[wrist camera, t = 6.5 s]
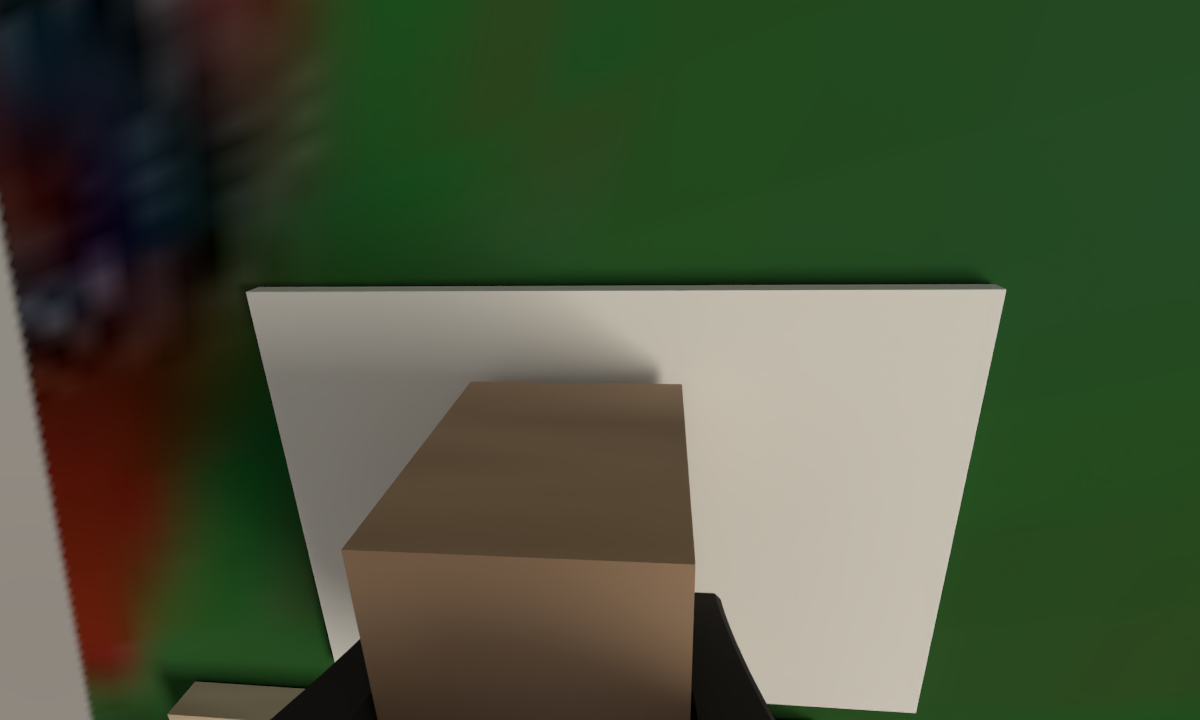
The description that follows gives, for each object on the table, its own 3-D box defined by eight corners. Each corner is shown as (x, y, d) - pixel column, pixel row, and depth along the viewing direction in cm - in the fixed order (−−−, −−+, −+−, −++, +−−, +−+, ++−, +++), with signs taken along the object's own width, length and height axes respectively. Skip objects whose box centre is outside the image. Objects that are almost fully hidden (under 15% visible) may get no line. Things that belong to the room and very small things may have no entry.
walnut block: (674, 704, 14) (680, 989, 9) (505, 692, 14) (429, 962, 10) (681, 384, 11) (695, 564, 6) (470, 381, 12) (340, 550, 7)
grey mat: (909, 697, 14) (915, 712, 14) (345, 663, 16) (337, 676, 15) (994, 284, 11) (1007, 289, 10) (258, 287, 12) (245, 291, 12)
